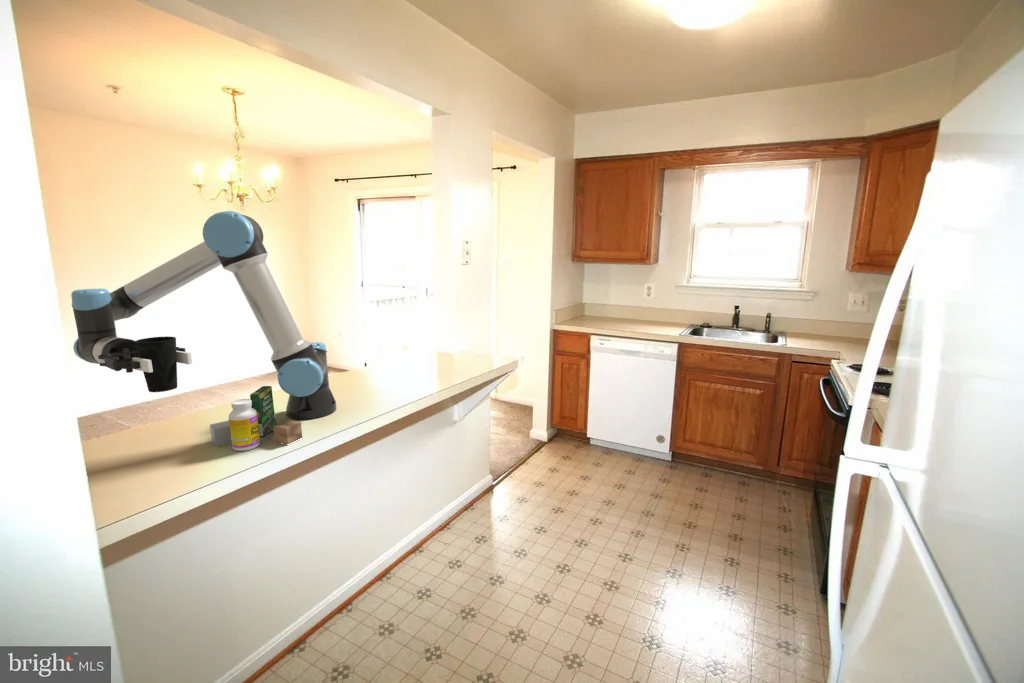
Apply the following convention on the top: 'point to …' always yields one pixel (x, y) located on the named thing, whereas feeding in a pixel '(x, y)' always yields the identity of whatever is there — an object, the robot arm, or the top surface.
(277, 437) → the walnut block
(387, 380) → the top surface
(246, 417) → the supplement bottle
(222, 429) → the grey block
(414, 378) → the top surface
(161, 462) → the top surface
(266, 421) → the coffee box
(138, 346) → the cup
